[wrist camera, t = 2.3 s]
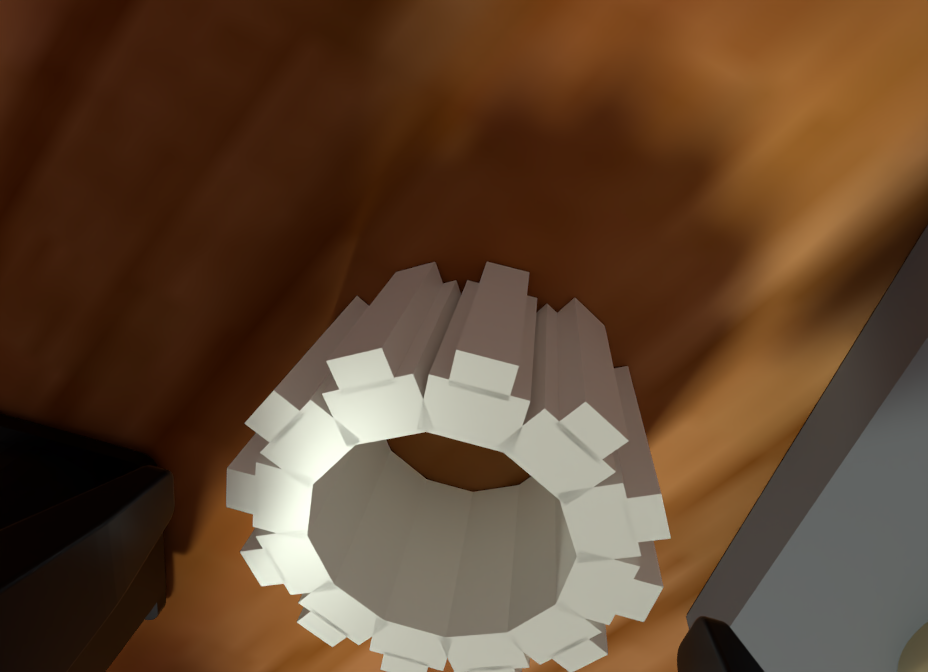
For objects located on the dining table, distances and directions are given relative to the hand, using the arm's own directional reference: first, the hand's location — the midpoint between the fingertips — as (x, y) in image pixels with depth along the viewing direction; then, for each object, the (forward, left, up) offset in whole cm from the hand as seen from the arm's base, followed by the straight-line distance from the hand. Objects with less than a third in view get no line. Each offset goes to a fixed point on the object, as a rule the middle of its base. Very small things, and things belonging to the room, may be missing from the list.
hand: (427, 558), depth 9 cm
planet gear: (0, 0, -4) cm, 4 cm away
